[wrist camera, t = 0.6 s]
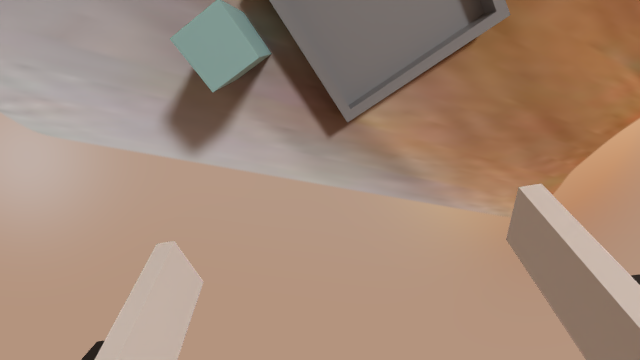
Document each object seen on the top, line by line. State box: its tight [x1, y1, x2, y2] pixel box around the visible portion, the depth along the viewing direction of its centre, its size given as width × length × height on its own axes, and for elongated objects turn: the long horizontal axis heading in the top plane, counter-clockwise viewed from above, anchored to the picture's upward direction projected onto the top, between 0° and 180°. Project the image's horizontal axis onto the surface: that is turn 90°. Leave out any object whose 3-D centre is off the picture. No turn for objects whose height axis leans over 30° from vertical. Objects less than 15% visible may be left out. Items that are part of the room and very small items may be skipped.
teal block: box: [170, 0, 272, 92], centre depth 27 cm, size 4×4×10 cm
